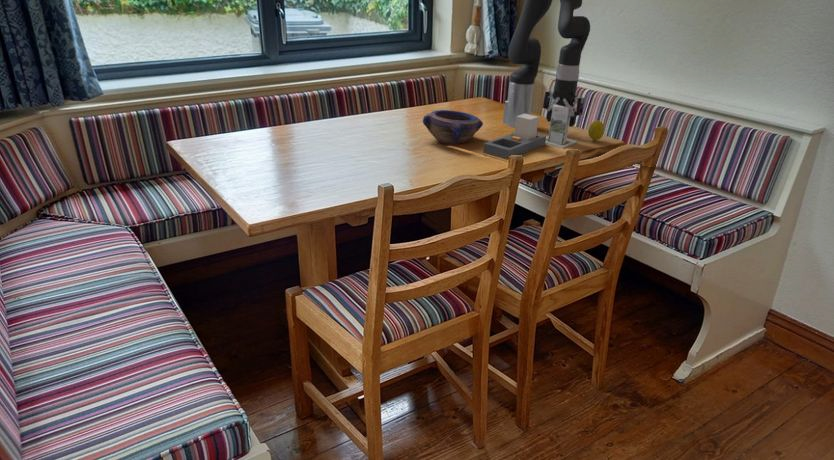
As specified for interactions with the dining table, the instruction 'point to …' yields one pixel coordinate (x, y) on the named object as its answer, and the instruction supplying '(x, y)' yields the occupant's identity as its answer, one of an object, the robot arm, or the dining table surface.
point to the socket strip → (512, 145)
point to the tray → (560, 145)
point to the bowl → (452, 126)
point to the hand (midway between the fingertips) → (560, 123)
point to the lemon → (596, 130)
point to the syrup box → (559, 125)
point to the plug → (526, 126)
